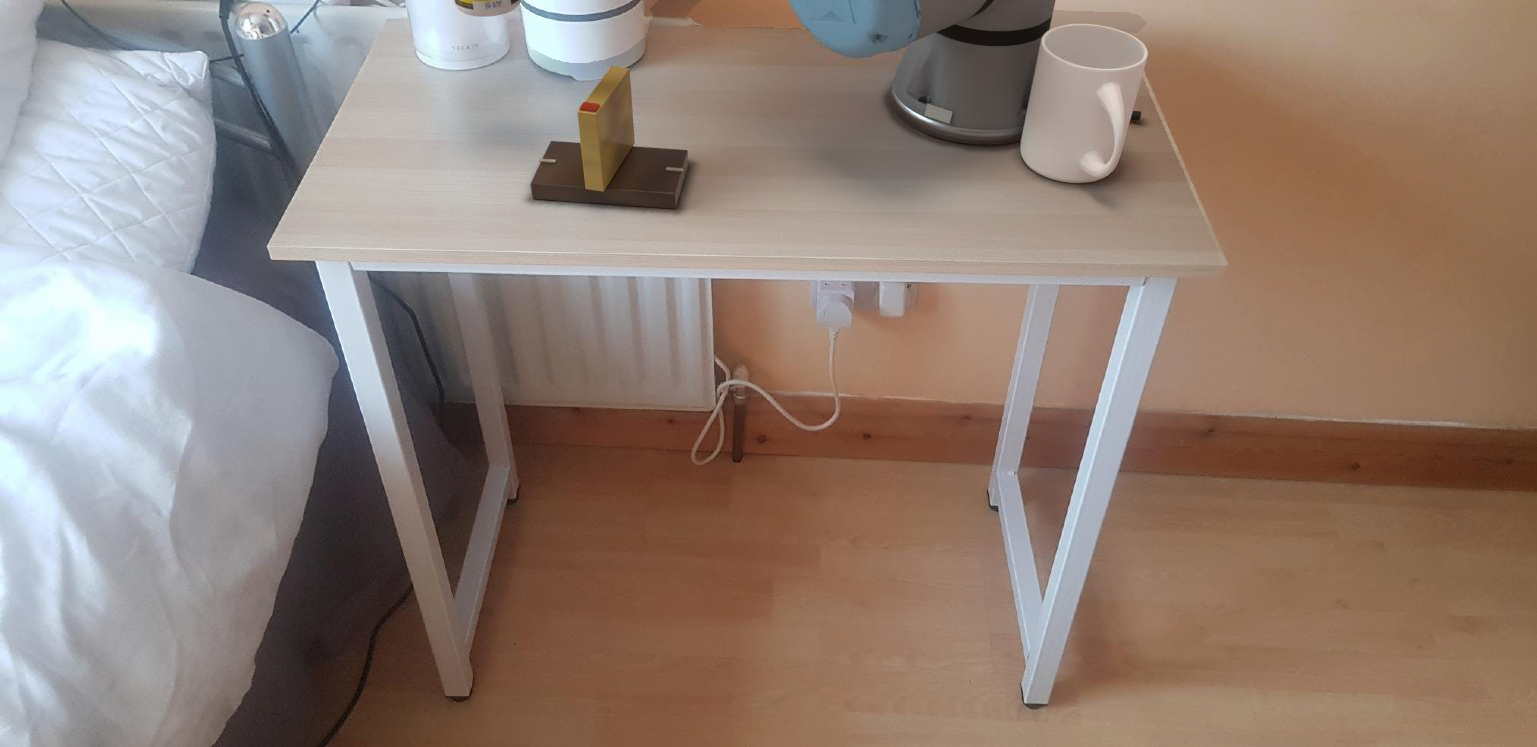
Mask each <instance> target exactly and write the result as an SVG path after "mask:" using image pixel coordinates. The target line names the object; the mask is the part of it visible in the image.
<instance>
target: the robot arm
mask: <svg viewBox="0 0 1537 747" xmlns="http://www.w3.org/2000/svg"><path fill="white" fill-rule="evenodd" d="M1056 1H1057V0H788V2H789V4H790V6H791V8H792V10H793V12H794V14H795V15H796V17H797V19H798V20H799V22H800V24H802V26H803V28H805V30H807V31H808V32H810V33H811V34H812V36H813V37H814V39H815V40H816V41H817V42H819V43H820V45H822V46H823V47H825V48H826V49H828V50H830V51H831V52H833V53H835V54H837V55H839V56H843V57H847V58H853V59H865V58H870V57H874V56H877V55H879V54H882V53H885V52H897V51H899V50H901V49H904V48H905V51H904V52H903V54H902V57H901V59H900V60H899V63H898V65H897V68H896V69H895V72H894V76H893V79H892V83H891V85H892V86H891V93H890V103H891V106H892V109H893V110H894V111H895V113H896V114H897V116H899V118H900V119H902V120H903V122H905V123H907V124H908V125H909V126H911V127H913V128H915V129H916V130H918V131H921V132H922V133H924V134H927V135H930V136H932V137H935V138H939V139H942V140H946V141H949V142H956V143H961V144H971V145H1001V144H1008V143H1014V142H1018V141H1021V138H1022V133H1023V128H1024V123H1025V118H1026V113H1027V108H1028V103H1029V98H1030V93H1031V88H1032V83H1033V78H1034V73H1035V68H1036V63H1037V58H1038V53H1039V48H1040V43H1041V39H1042V37H1043V35H1044V34H1045V33H1046V32H1047V31H1049V30H1051V23H1052V18H1053V14H1054V10H1055V5H1056ZM1141 117H1142V111H1141V110H1133V112H1132V116H1131V119H1130V121H1140V120H1141Z"/></svg>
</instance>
